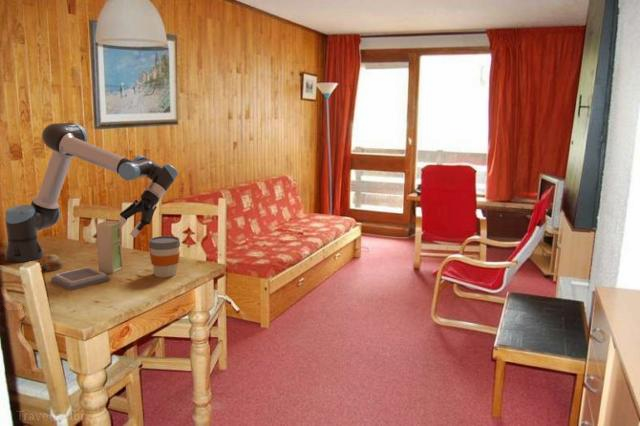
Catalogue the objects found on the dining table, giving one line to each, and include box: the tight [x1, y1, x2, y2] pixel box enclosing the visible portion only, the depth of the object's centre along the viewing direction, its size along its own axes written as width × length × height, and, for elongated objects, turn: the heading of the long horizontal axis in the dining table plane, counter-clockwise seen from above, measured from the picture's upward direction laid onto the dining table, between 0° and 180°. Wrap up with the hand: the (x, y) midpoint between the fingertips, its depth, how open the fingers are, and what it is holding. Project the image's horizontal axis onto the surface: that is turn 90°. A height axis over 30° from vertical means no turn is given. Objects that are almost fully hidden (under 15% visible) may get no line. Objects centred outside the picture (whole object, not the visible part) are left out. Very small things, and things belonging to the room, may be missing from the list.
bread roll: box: [37, 253, 64, 272], centre depth 218 cm, size 10×10×8 cm
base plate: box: [50, 266, 111, 291], centre depth 204 cm, size 16×16×3 cm
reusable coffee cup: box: [148, 235, 181, 278], centre depth 214 cm, size 13×13×15 cm
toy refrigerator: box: [95, 220, 124, 275], centre depth 215 cm, size 8×7×21 cm
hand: (123, 233), depth 218 cm, fingers open, 13 cm apart
